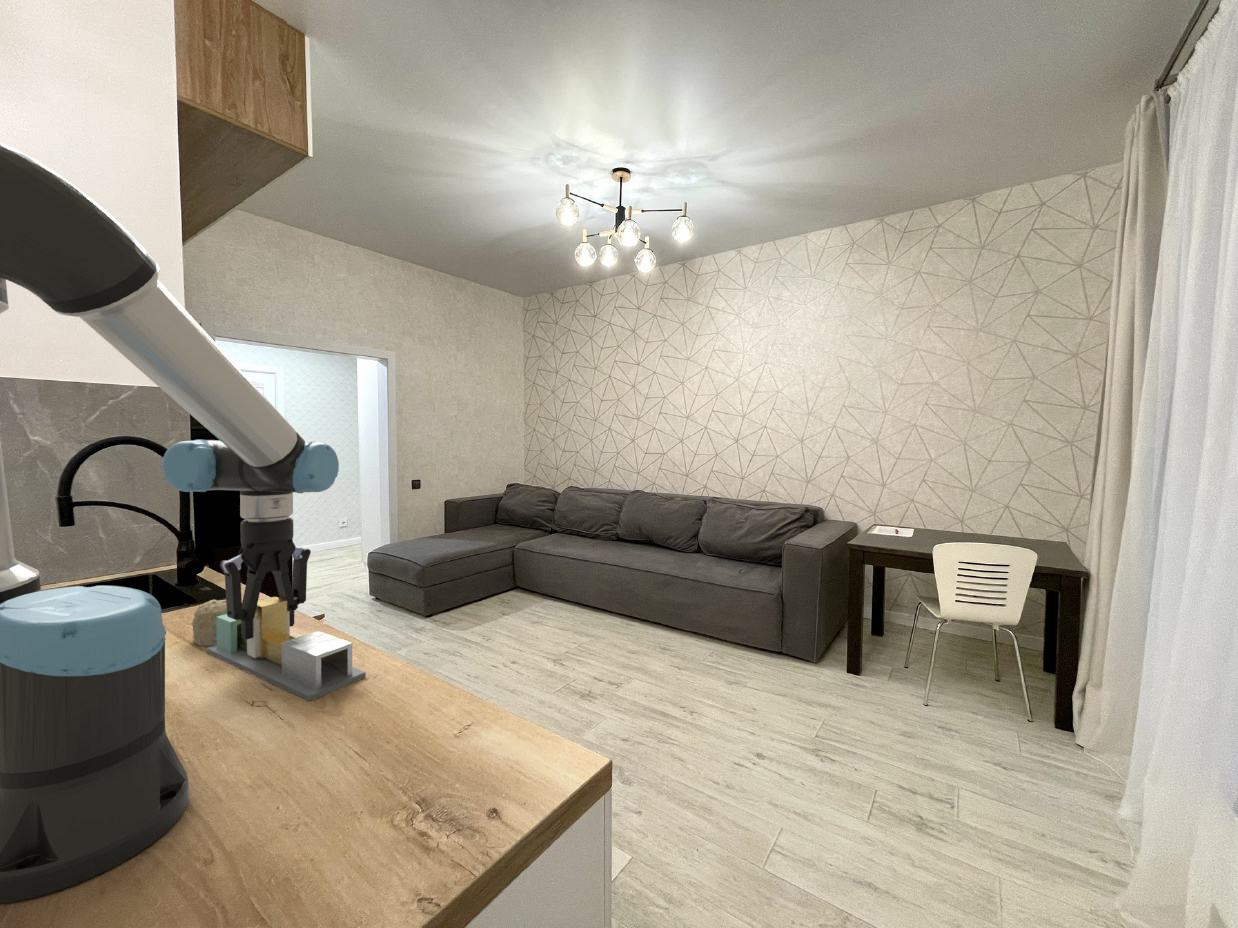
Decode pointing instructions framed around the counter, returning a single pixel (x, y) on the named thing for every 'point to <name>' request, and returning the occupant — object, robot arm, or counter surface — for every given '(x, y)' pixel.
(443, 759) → the counter surface
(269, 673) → the slate board
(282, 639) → the gold stepped block
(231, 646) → the socket
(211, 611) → the sponge
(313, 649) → the grey rectangular sleeve
